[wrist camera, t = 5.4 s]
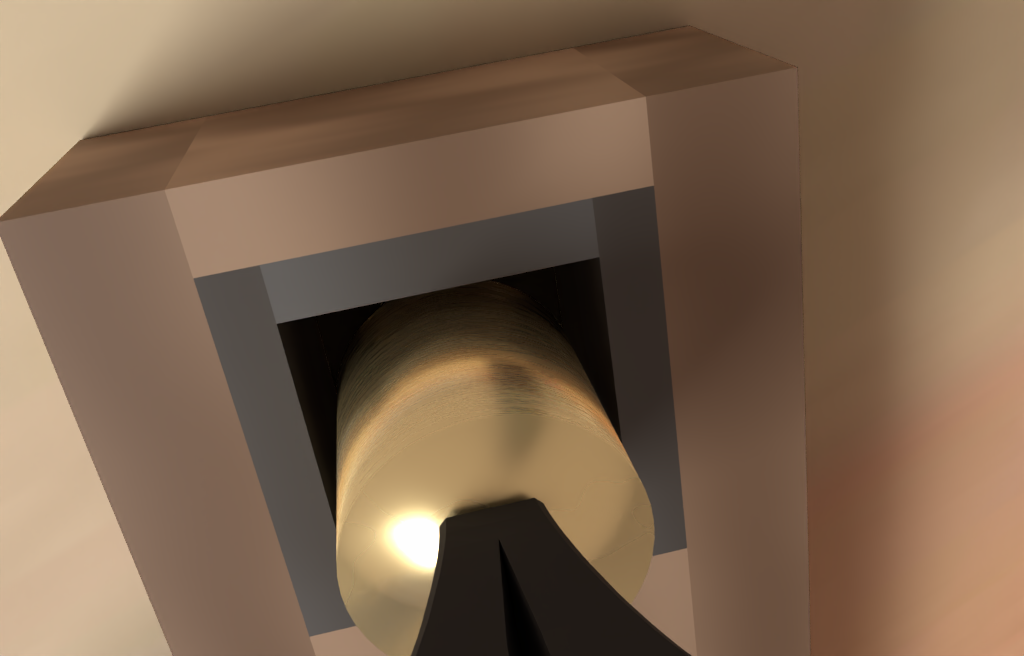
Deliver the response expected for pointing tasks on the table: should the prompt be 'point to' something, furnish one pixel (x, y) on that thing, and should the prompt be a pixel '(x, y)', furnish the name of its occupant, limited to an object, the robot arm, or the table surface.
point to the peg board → (426, 268)
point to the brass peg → (470, 448)
